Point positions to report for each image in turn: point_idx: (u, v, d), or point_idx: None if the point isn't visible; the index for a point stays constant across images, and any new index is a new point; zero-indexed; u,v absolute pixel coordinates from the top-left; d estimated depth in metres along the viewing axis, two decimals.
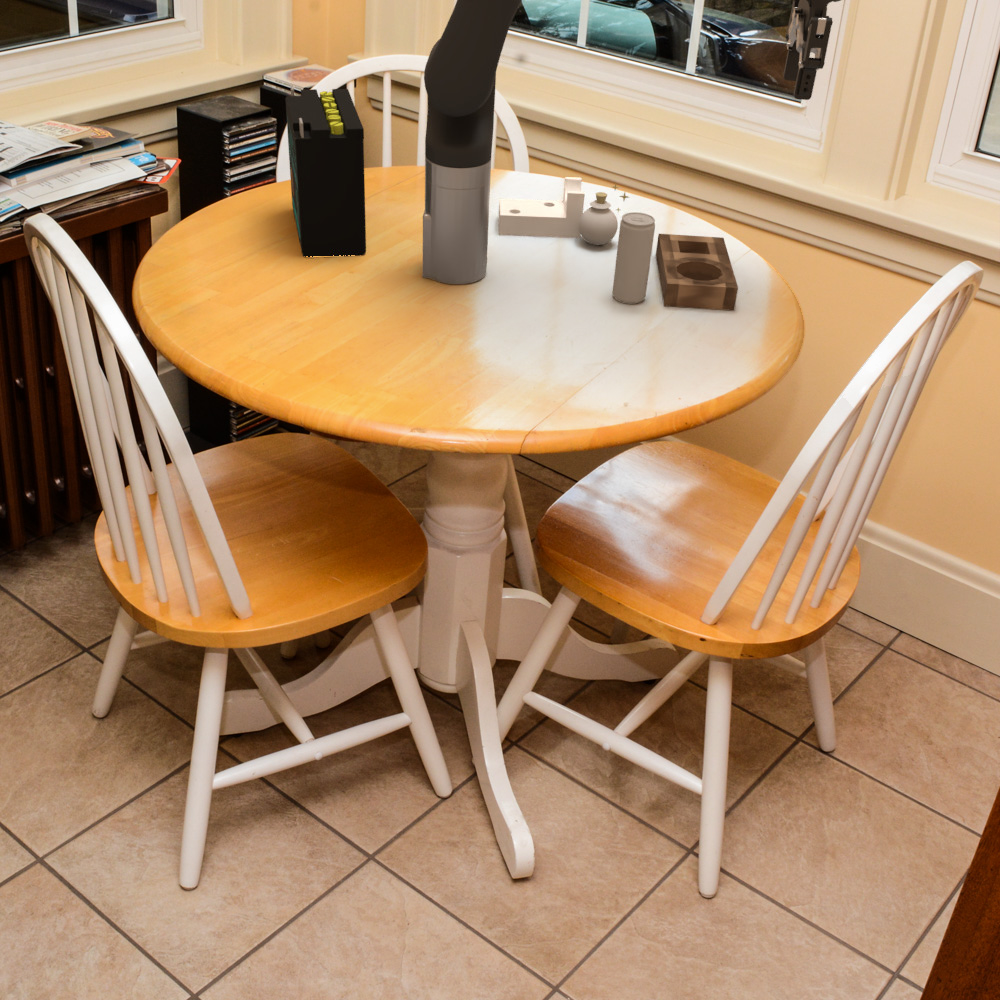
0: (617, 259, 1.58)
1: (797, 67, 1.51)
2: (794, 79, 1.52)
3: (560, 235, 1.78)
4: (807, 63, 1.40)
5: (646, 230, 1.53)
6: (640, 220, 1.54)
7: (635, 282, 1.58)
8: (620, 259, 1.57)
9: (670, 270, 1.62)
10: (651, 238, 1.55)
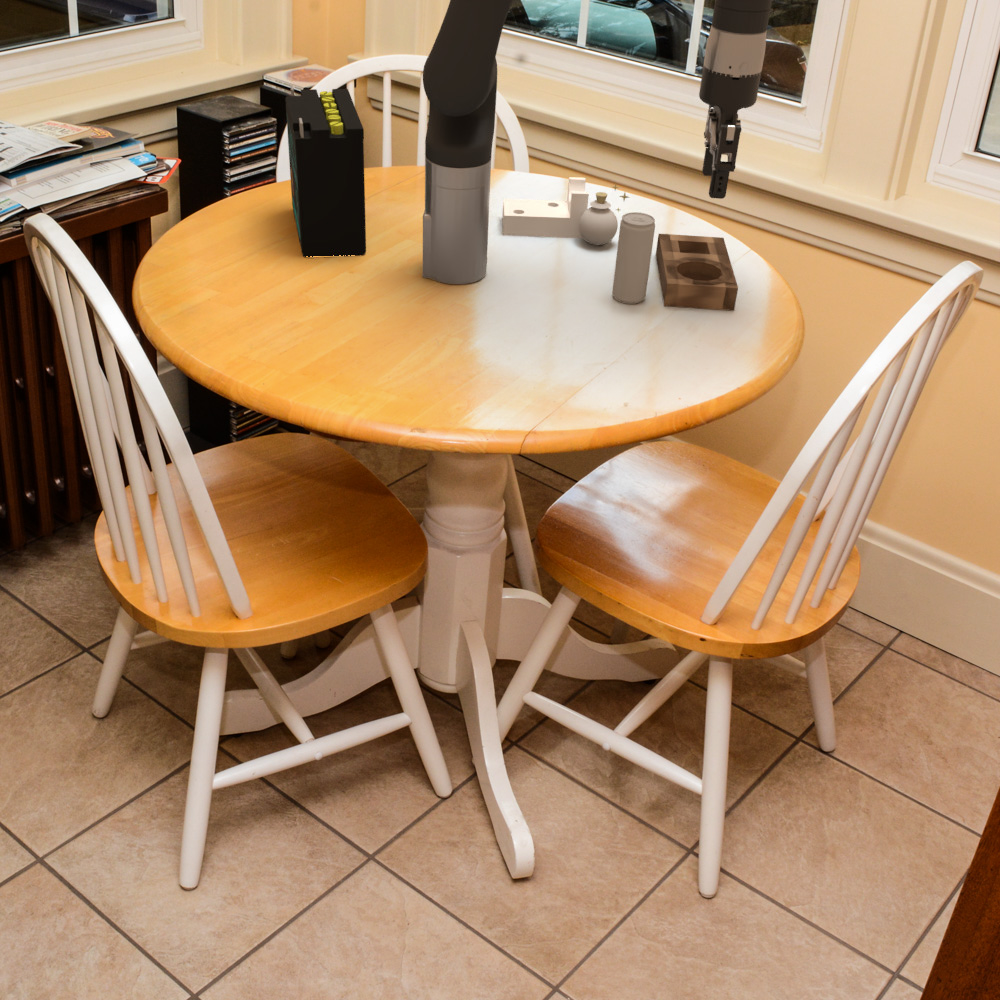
0: (617, 259, 1.58)
1: None
2: None
3: (564, 235, 1.78)
4: (719, 167, 1.46)
5: (646, 230, 1.53)
6: (640, 220, 1.54)
7: (635, 282, 1.58)
8: (620, 259, 1.57)
9: (670, 270, 1.62)
10: (651, 238, 1.55)
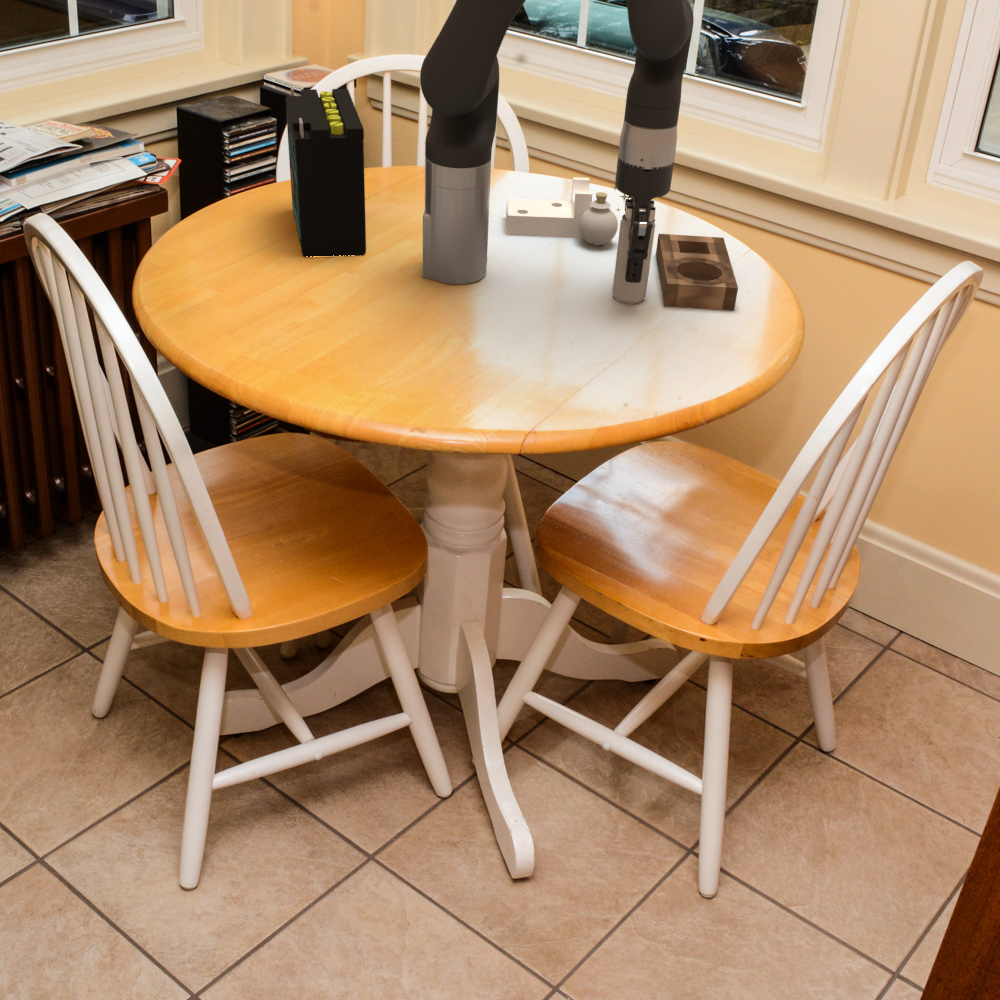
0: (617, 259, 1.58)
1: None
2: None
3: (568, 235, 1.78)
4: (631, 255, 1.52)
5: None
6: None
7: None
8: (620, 258, 1.57)
9: (670, 270, 1.62)
10: (651, 238, 1.55)
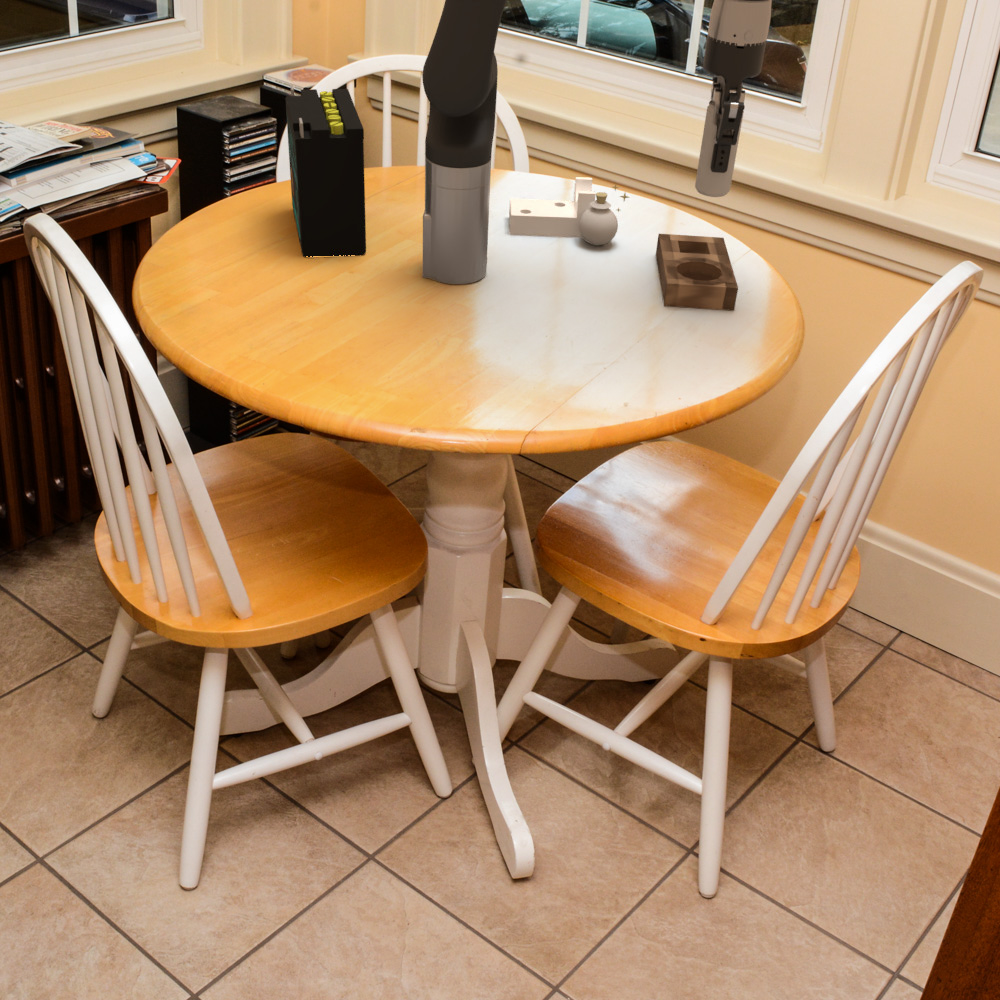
0: (702, 148, 1.51)
1: None
2: None
3: (571, 235, 1.78)
4: (720, 140, 1.45)
5: None
6: None
7: (721, 173, 1.51)
8: (705, 147, 1.50)
9: (670, 270, 1.62)
10: None
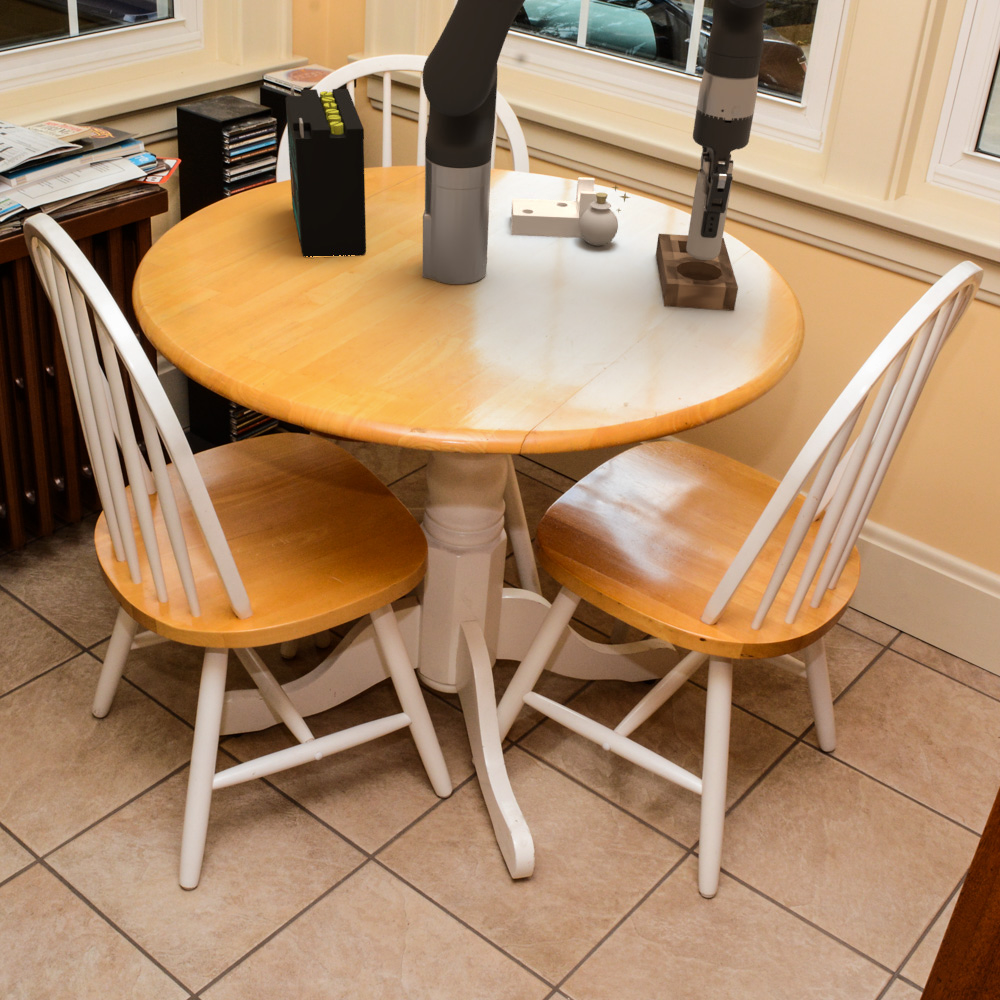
0: (693, 214, 1.56)
1: None
2: None
3: (573, 235, 1.78)
4: (709, 208, 1.51)
5: None
6: None
7: None
8: (696, 213, 1.56)
9: (670, 270, 1.62)
10: None
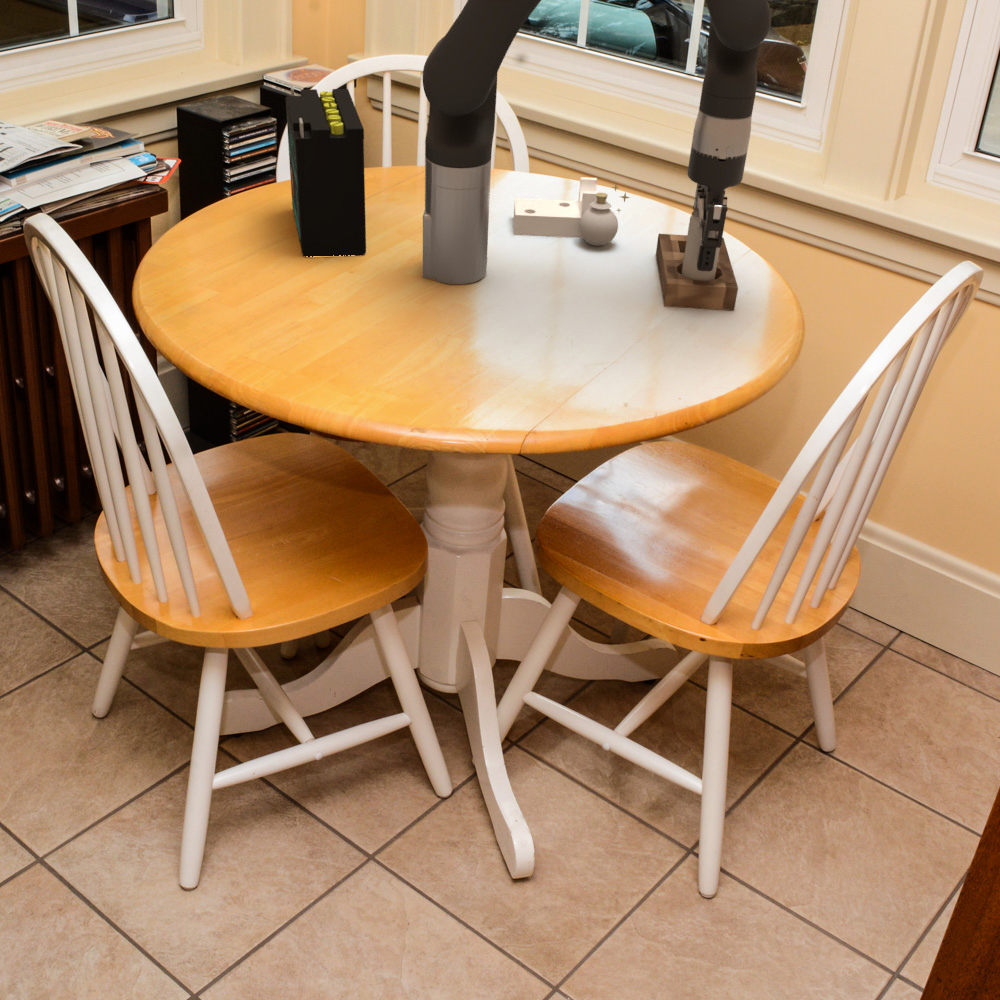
0: (686, 255, 1.60)
1: None
2: None
3: (575, 235, 1.79)
4: (706, 243, 1.52)
5: None
6: None
7: (703, 277, 1.60)
8: (688, 254, 1.59)
9: (670, 270, 1.62)
10: None
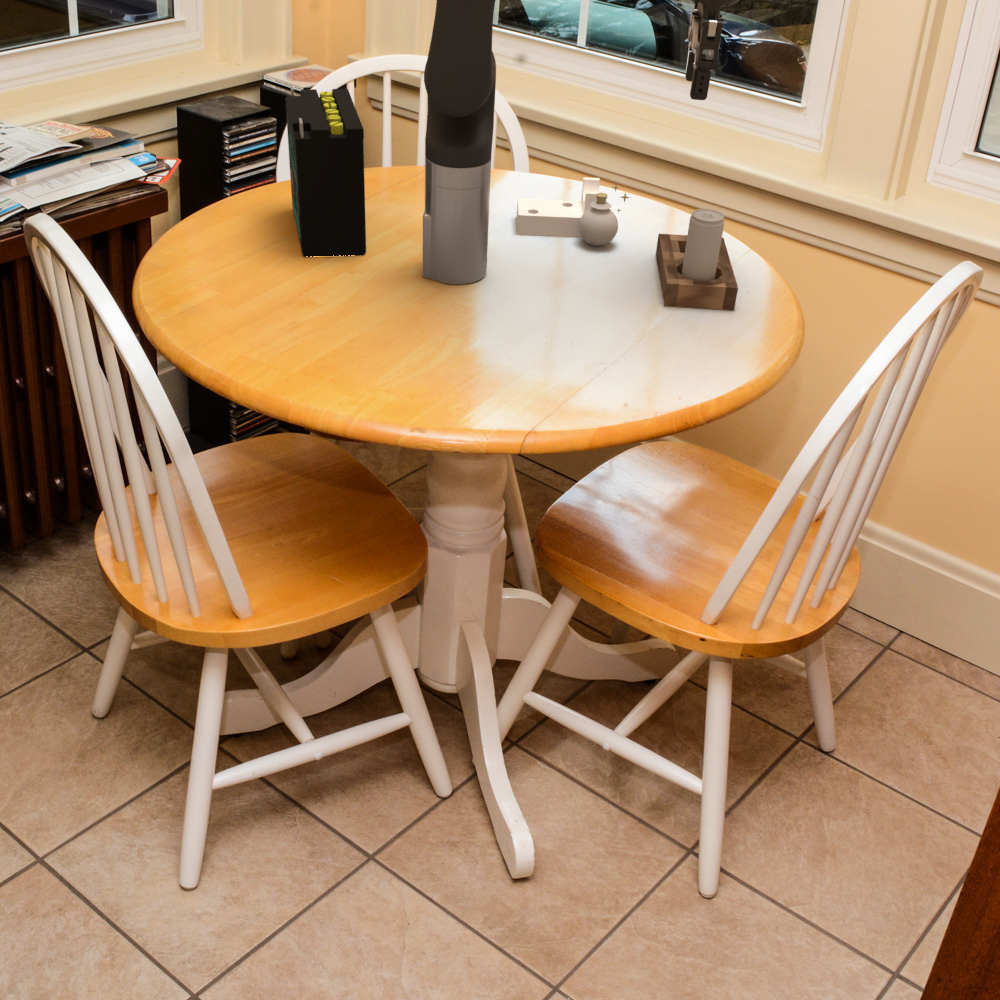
0: (686, 255, 1.60)
1: None
2: None
3: (578, 235, 1.79)
4: (700, 64, 1.43)
5: (716, 226, 1.56)
6: (710, 216, 1.57)
7: (703, 277, 1.60)
8: (688, 254, 1.59)
9: (670, 270, 1.62)
10: (720, 234, 1.57)
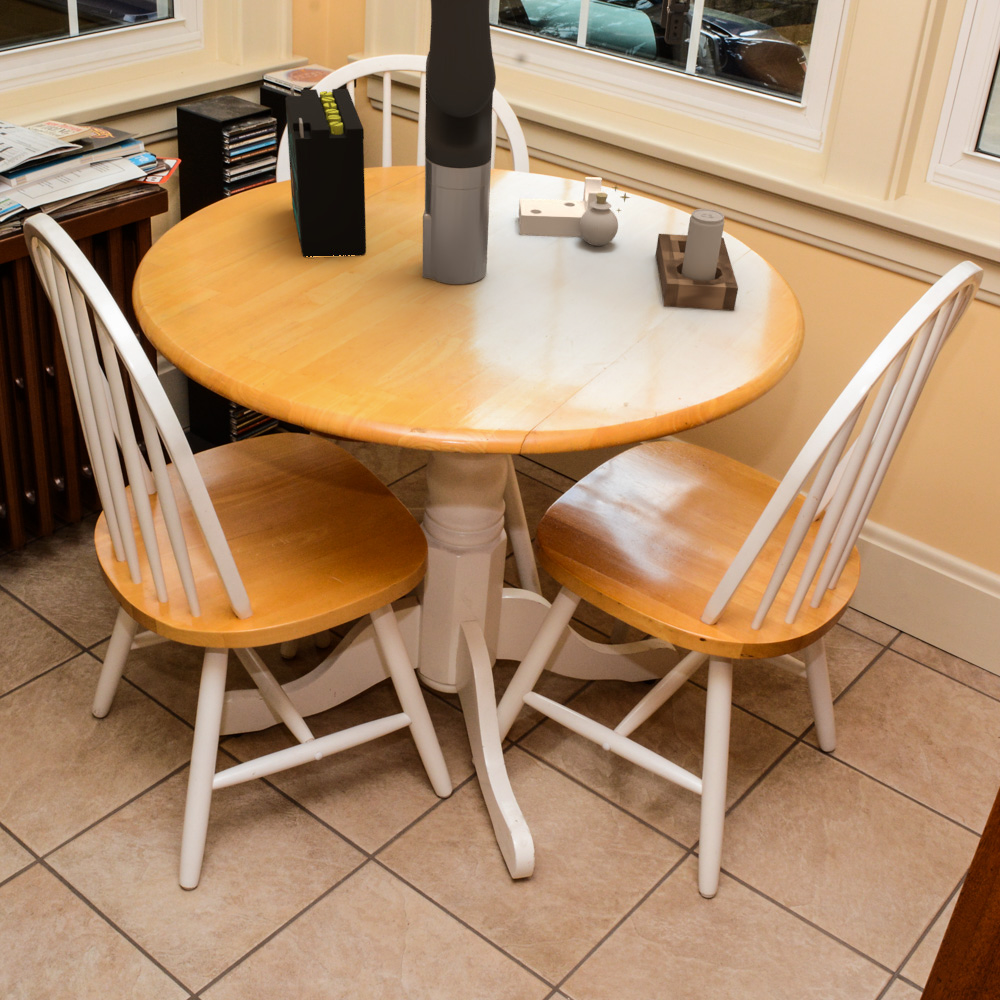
0: (686, 255, 1.60)
1: None
2: None
3: (581, 235, 1.79)
4: (673, 7, 1.44)
5: (716, 226, 1.56)
6: (710, 216, 1.57)
7: (703, 277, 1.60)
8: (688, 254, 1.59)
9: (670, 270, 1.62)
10: (720, 234, 1.57)
